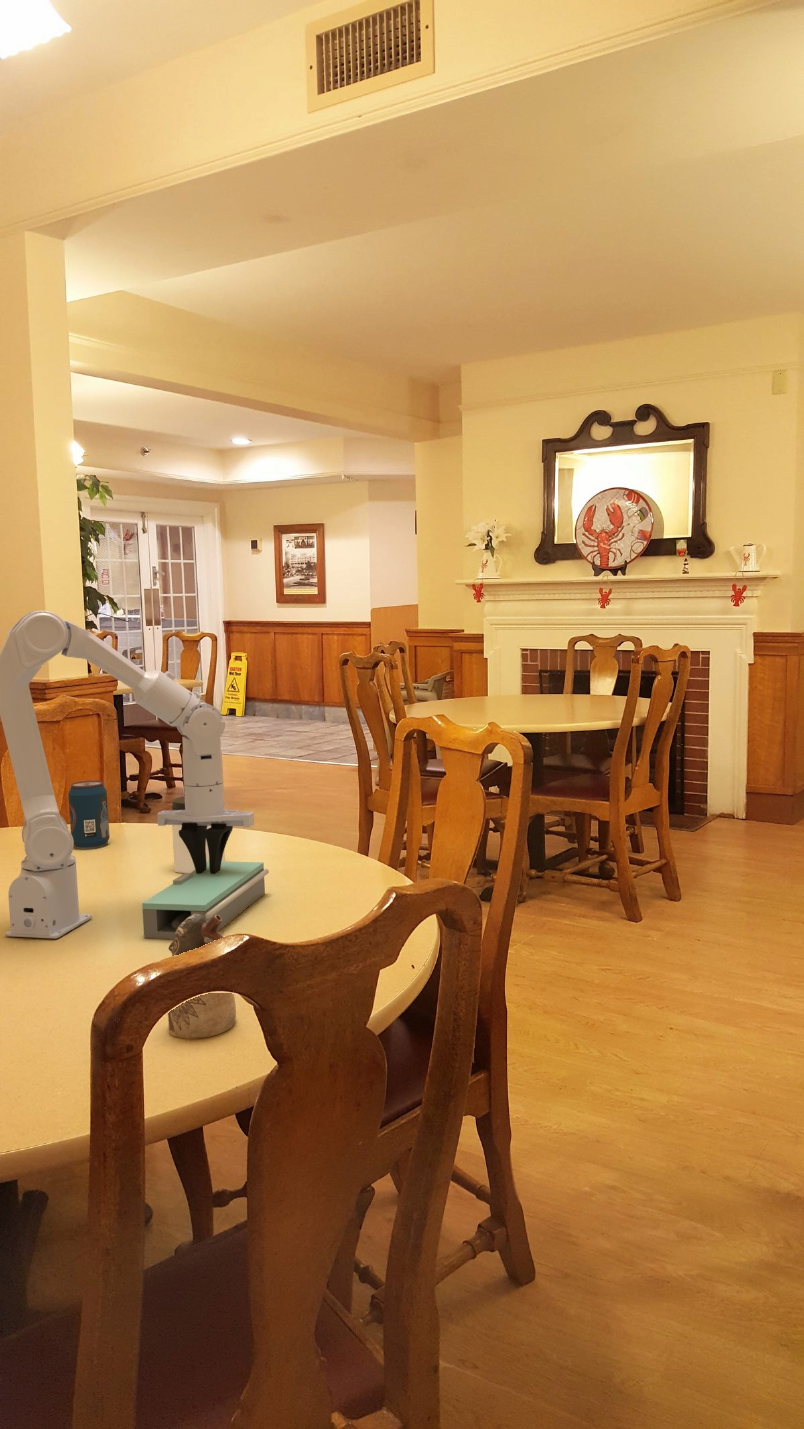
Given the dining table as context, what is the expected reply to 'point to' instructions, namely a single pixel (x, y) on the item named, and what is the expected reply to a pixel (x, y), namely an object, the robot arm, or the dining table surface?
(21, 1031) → the dining table surface
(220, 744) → the robot arm
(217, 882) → the duct lid
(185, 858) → the jar
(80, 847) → the soda can
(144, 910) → the cable duct
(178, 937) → the figurine
